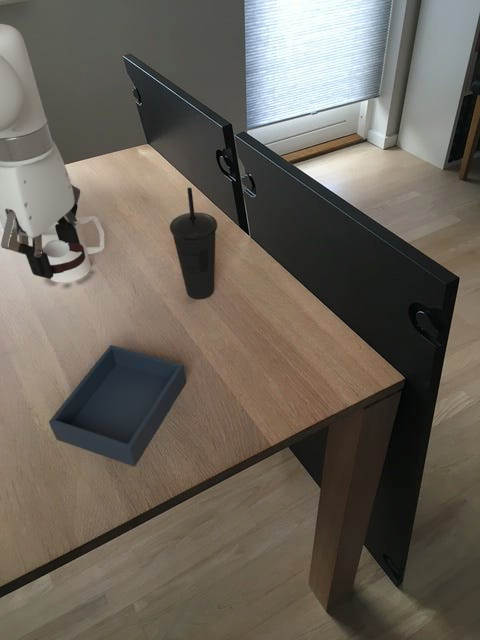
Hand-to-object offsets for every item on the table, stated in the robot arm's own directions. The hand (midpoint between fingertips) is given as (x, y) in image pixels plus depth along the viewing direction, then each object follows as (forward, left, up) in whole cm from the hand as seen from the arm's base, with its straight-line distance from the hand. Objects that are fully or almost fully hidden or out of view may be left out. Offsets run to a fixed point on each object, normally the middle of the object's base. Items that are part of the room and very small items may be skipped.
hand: (57, 261), depth 77 cm
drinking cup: (+18, -13, -16) cm, 27 cm away
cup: (+17, +12, -16) cm, 26 cm away
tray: (-10, -14, -15) cm, 23 cm away
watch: (0, 0, -1) cm, 1 cm away
